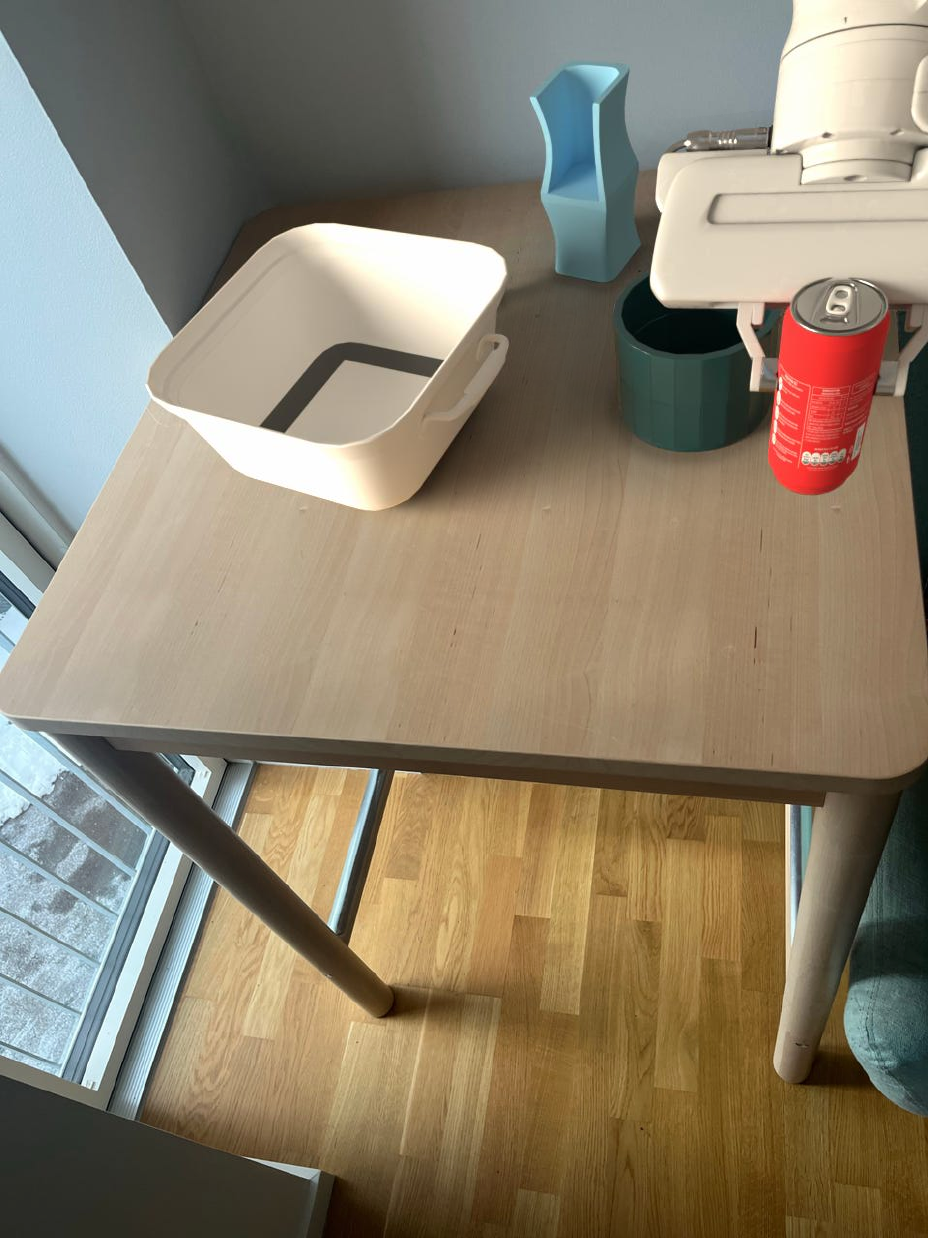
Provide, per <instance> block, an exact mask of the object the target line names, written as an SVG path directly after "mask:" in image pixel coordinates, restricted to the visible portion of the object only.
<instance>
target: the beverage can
mask: <svg viewBox="0 0 928 1238" xmlns="http://www.w3.org/2000/svg"><path fill="white" fill-rule="evenodd" d="M832 278H833V277H828V278H823V279H819V280H816V281H813V282H811V283H808V284H806V285H804V286H803V287H802V288H800V289H799V290H798V291H797V292H796V293H795V295H794V296H793V298H792V300H791V303H790V306H789V307H788V308H787V309H785V313H784V315H783V321H782V329H781V330H782V331H781V339H780V348H779V356H778V358H779V365H778V373H777V378H778V384H777V392H774V399H773V407H772V417H771V425H770V432H769V433H770V434H769V443H768V450H767V451H768V452H767V461H768V464H769V466H770V468H771V470H772V471H773V475H774V478H775V479H776V481H777V482H778V483H779V484H780V486H782V487H783V488H784V489H786V490H788V491H790V492H791V493H795V494H797V495H802V496H822V495H825V494H829V493H831V492H834V491H836V490H838V489H839V488H841V486H842V485H844V484H845V482H846V481H847V479H848V478H849V477H850V476H852V474H853V473H854V472H855V470H856V469H857V467H858V464H859V461H860V457H861V451H862V447H863V443H864V440H865V439H864V438H865V435H866V431H867V427H868V421H869V417H870V413H871V409H872V405H873V404H872V403H873V401H874V400H873V399H874V396H873V395H874V391H875V386H876V382H877V378H878V373H879V369H880V365H881V361H883V356H884V351H885V347H886V344H887V343H886V342H887V338H888V334H889V330H890V325H891V314H890V311H889V310H888V300H887V297H886V295H885V294H884V292H883V291H882V290H881V289H880V288H878V287H877V286H876V285H874V284H872V283H870V282H868V281H865V280H862V279H858V278H853V277H848V278H849V279H851V280H853V281H855V282H853V281H846V280H835V281H828V282H825V281H827V280H830V279H832Z"/></svg>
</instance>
